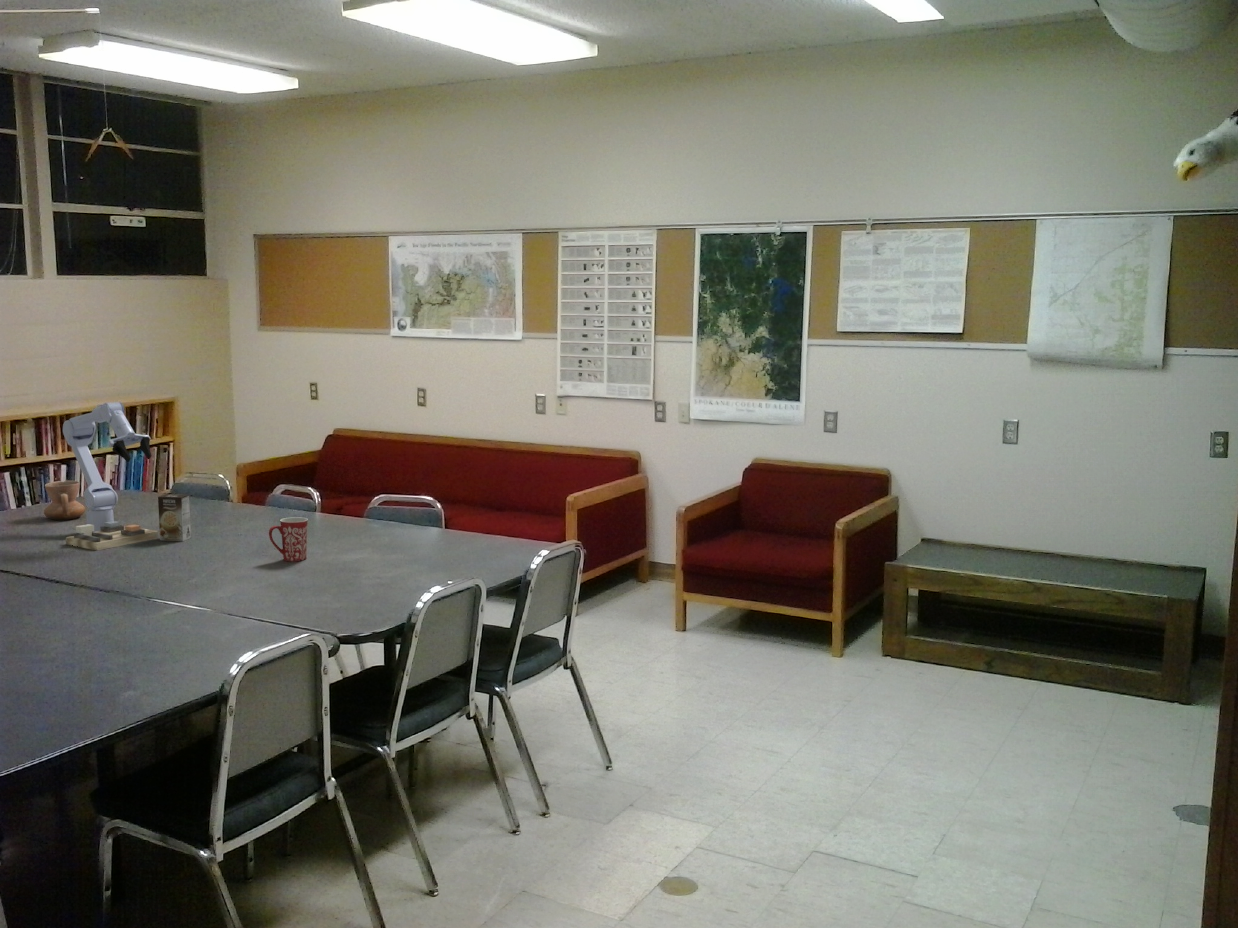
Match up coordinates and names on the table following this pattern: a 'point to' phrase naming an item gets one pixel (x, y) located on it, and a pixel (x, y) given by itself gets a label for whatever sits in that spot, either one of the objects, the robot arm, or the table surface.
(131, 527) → the terracotta button
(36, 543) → the table surface
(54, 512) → the ceramic jug
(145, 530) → the control panel
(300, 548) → the mug
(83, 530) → the slider knob
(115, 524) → the grey button
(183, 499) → the coffee box
